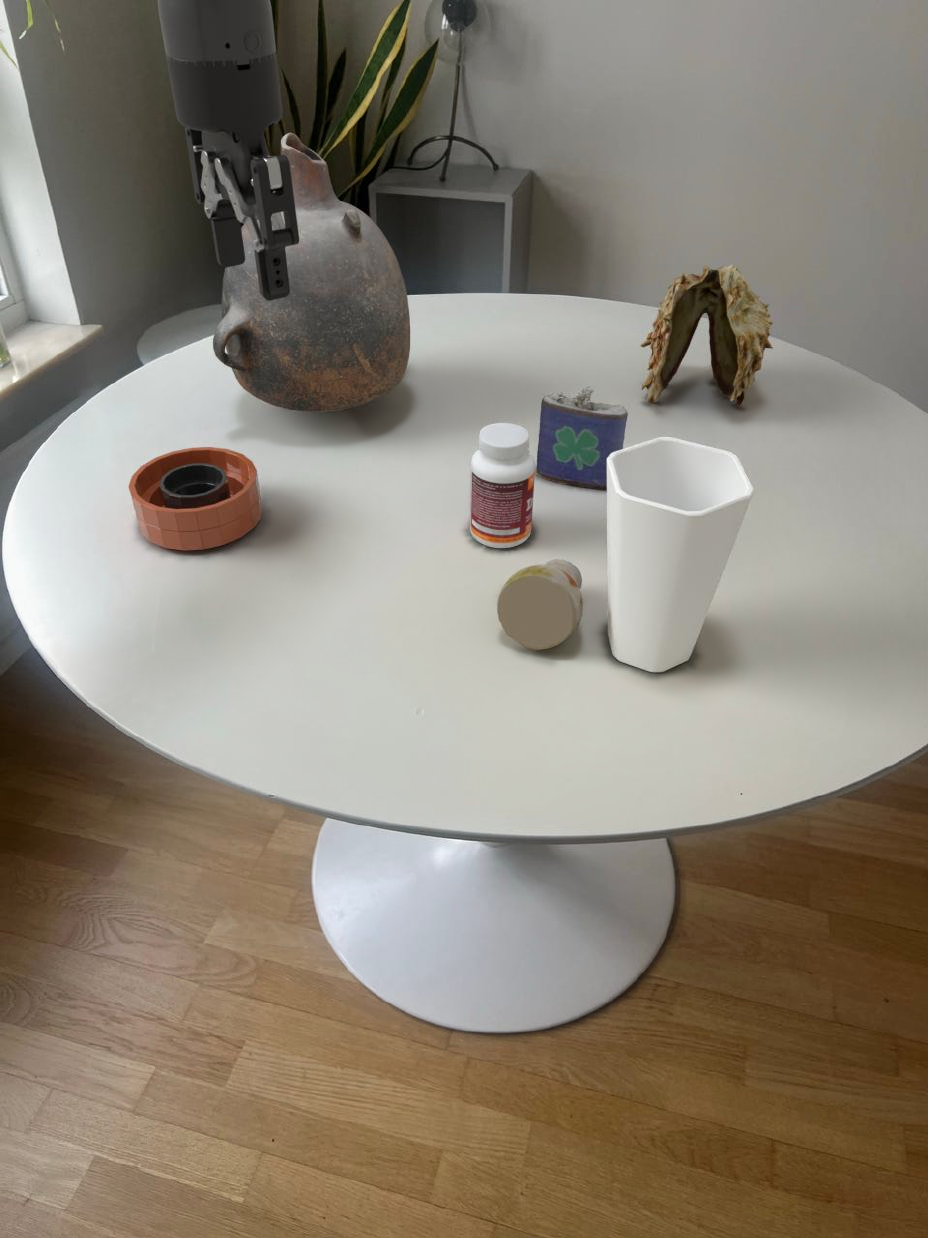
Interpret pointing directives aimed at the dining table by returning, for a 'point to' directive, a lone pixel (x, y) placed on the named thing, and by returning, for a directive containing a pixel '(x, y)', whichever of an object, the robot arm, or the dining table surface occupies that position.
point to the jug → (318, 306)
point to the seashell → (710, 330)
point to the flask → (578, 438)
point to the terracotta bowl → (204, 522)
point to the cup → (668, 544)
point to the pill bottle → (502, 486)
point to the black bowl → (194, 486)
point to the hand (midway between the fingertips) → (253, 280)
